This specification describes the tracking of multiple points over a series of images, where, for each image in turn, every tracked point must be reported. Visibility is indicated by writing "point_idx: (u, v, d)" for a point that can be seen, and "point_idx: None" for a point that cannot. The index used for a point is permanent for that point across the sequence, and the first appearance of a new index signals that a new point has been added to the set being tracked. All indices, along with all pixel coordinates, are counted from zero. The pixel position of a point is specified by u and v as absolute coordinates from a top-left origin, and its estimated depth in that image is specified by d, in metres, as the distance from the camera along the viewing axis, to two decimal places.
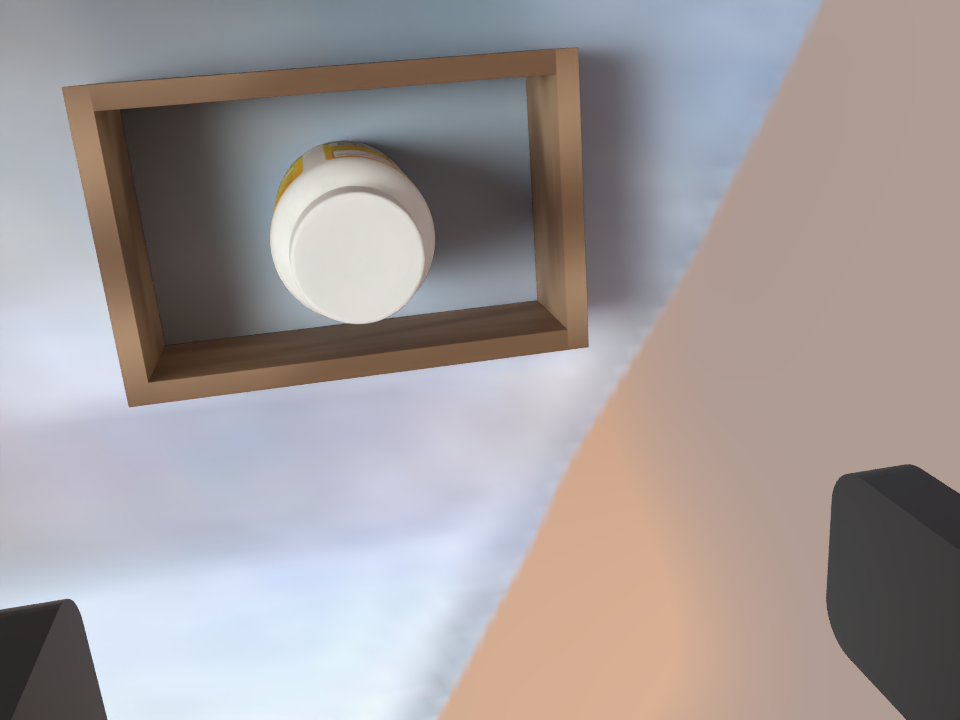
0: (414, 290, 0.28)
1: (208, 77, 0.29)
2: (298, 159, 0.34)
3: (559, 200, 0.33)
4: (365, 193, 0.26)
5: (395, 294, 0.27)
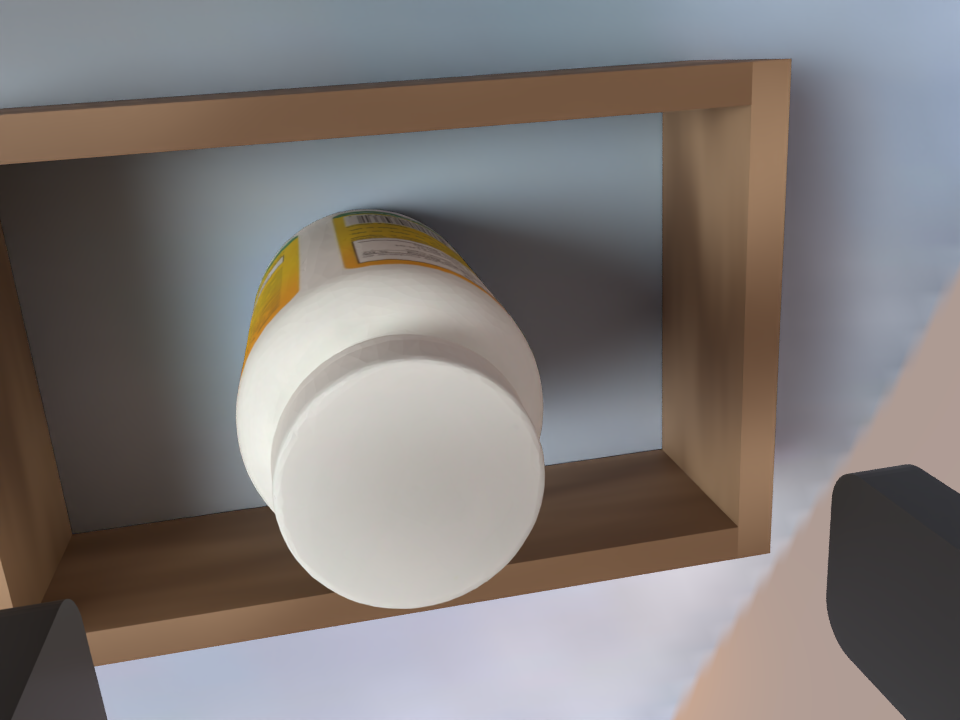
0: (521, 542, 0.14)
1: (122, 109, 0.15)
2: (291, 242, 0.20)
3: (738, 319, 0.19)
4: (430, 360, 0.13)
5: (484, 551, 0.14)
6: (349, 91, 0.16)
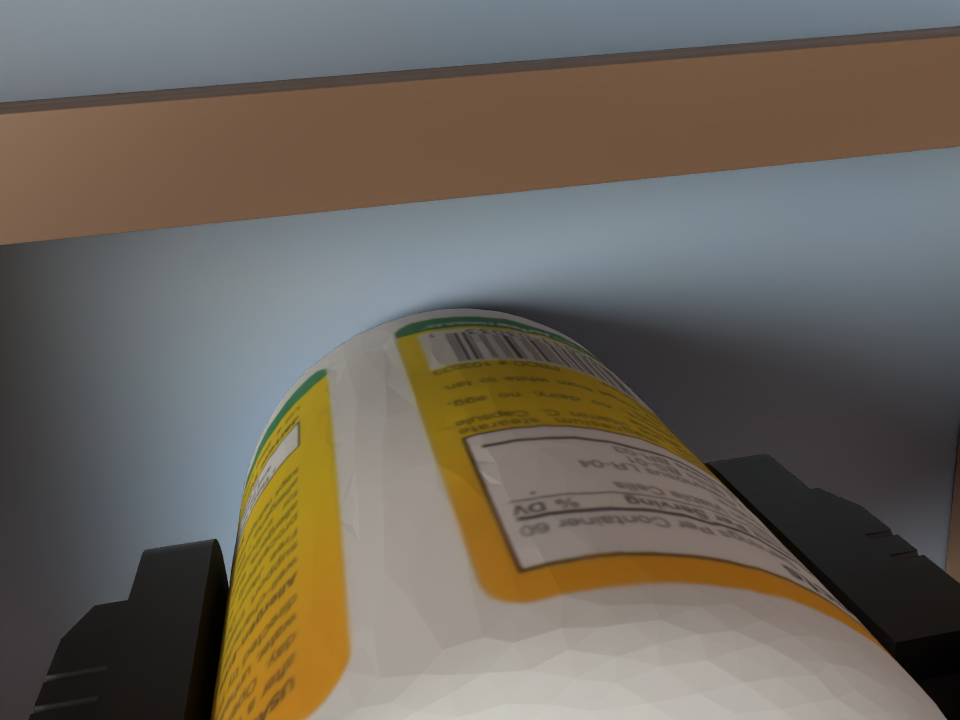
0: None
1: None
2: (314, 384, 0.10)
3: None
4: None
5: None
6: (470, 79, 0.06)
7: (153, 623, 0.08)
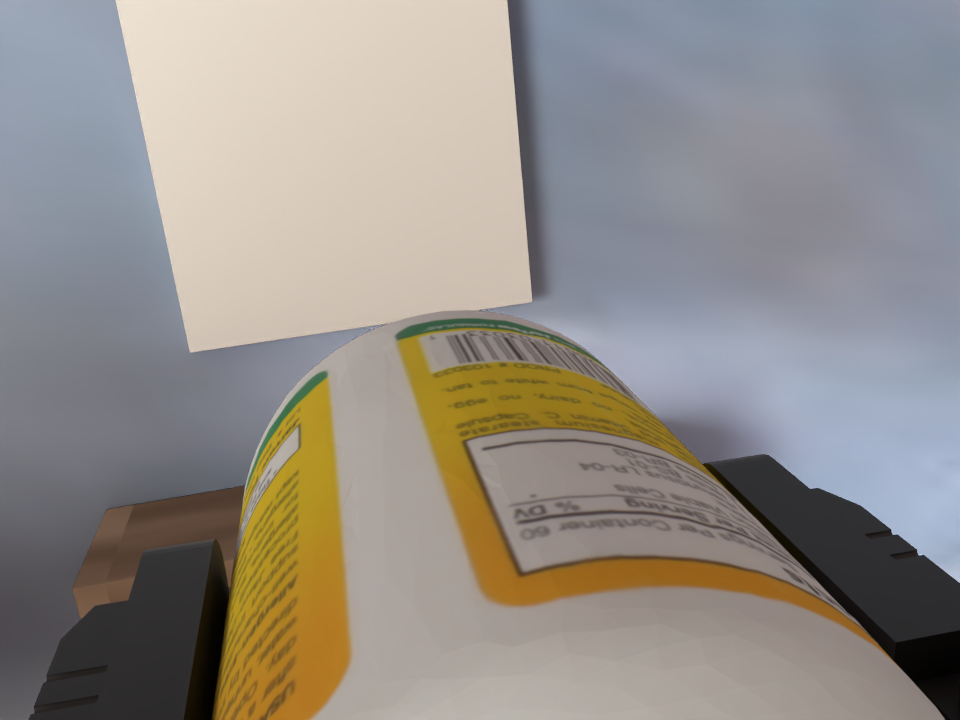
0: None
1: None
2: (315, 386, 0.10)
3: None
4: None
5: None
6: None
7: (153, 623, 0.08)
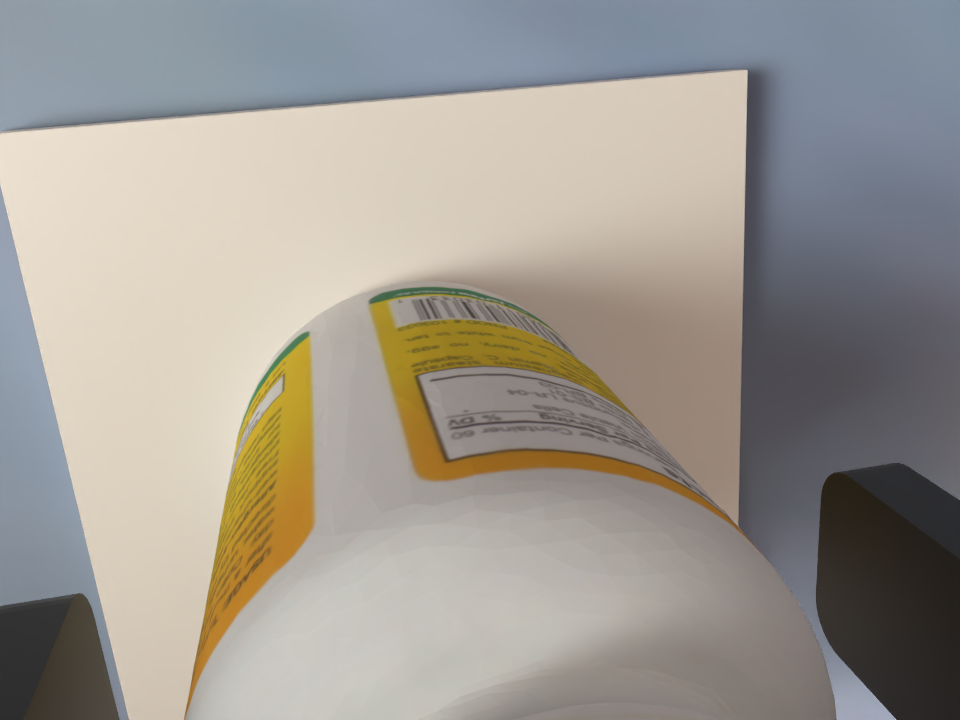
0: None
1: None
2: (298, 344, 0.12)
3: None
4: None
5: None
6: None
7: None
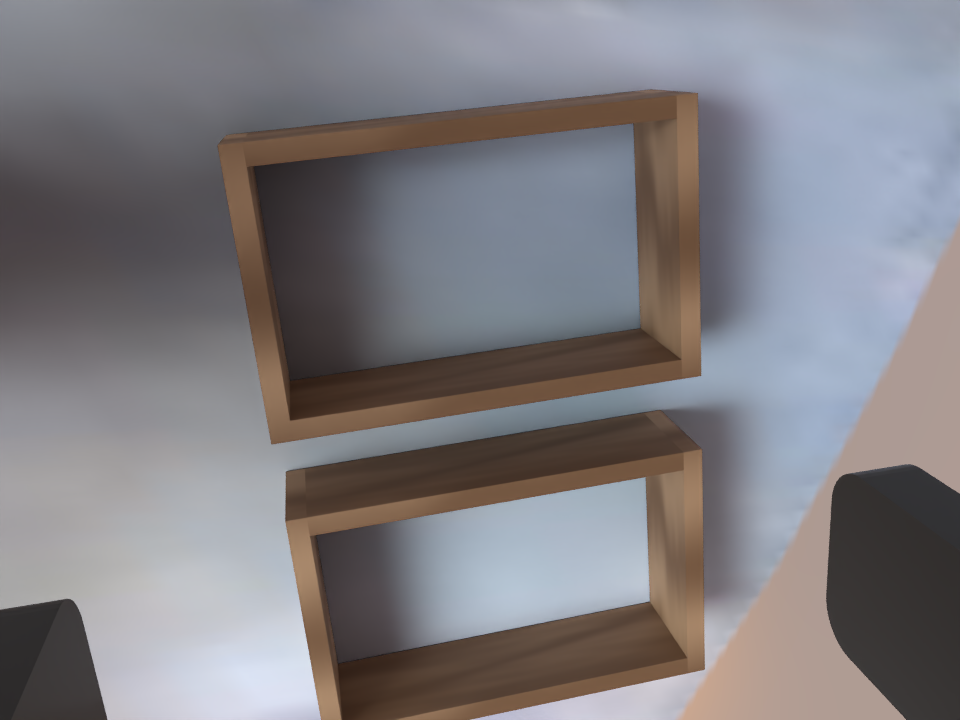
0: None
1: (402, 502, 0.35)
2: None
3: (682, 560, 0.39)
4: None
5: None
6: (499, 484, 0.36)
7: None
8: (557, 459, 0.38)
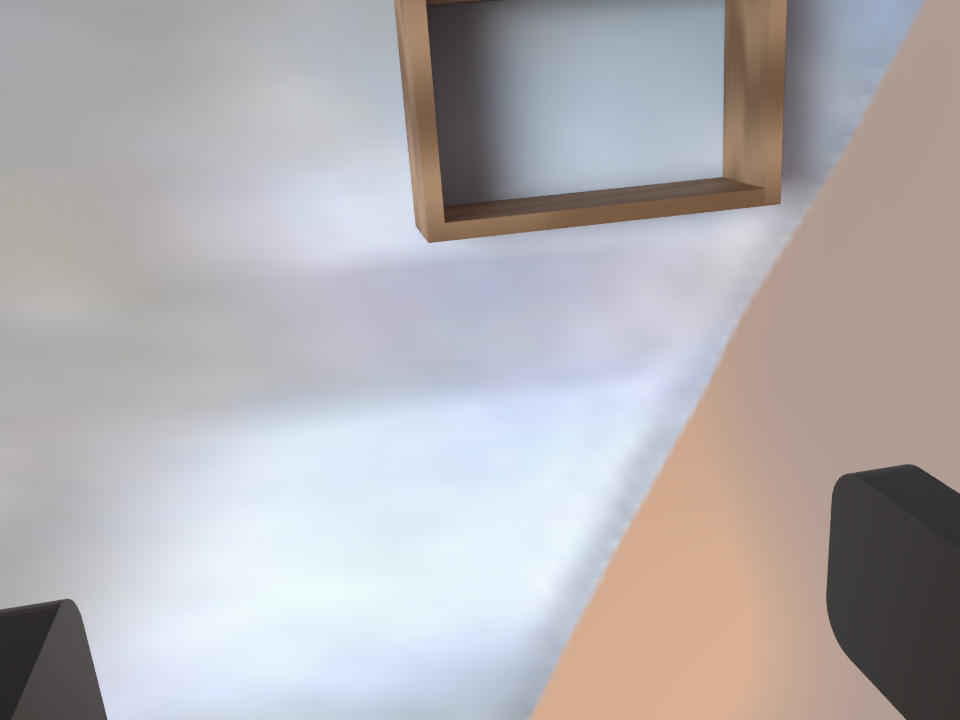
0: None
1: None
2: None
3: (764, 81, 0.41)
4: None
5: None
6: None
7: None
8: None
